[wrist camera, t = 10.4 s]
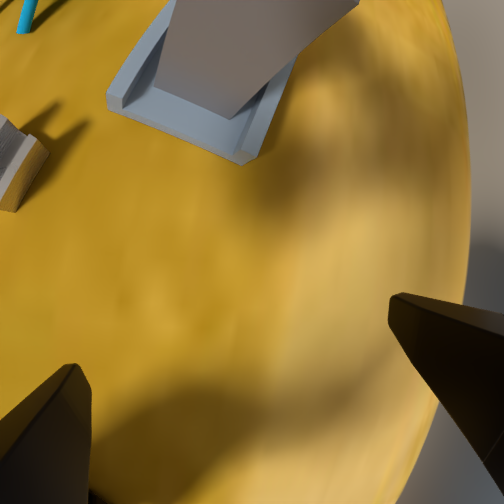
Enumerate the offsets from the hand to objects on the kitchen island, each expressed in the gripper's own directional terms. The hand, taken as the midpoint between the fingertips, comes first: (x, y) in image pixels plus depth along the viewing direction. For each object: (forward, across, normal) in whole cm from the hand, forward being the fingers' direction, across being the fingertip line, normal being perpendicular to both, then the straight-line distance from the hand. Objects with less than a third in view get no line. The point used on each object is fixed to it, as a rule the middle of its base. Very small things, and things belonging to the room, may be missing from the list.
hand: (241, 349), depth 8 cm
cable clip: (+11, +11, -6) cm, 16 cm away
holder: (+14, -1, -10) cm, 17 cm away
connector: (+13, -2, -10) cm, 16 cm away
